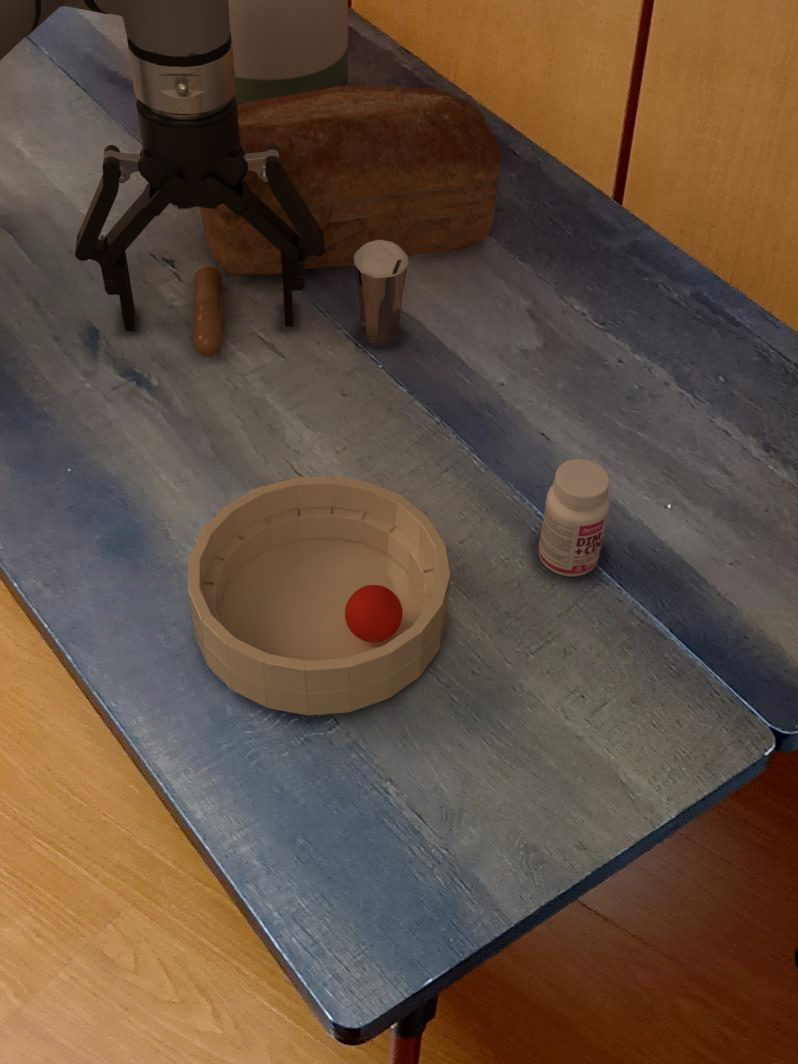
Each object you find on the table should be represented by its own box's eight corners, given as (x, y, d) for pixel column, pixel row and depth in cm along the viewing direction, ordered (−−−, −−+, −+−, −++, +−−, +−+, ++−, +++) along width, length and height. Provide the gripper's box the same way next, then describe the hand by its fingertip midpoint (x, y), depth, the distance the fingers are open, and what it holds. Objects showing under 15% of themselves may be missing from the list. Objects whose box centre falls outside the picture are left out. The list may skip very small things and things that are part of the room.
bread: (188, 221, 126) (173, 81, 116) (466, 188, 135) (475, 56, 124) (213, 296, 119) (199, 154, 108) (506, 256, 127) (519, 121, 117)
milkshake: (374, 362, 115) (375, 266, 107) (345, 327, 118) (344, 232, 110) (419, 347, 117) (423, 252, 109) (390, 313, 120) (392, 219, 112)
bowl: (194, 733, 87) (186, 678, 83) (196, 538, 99) (189, 481, 95) (458, 712, 90) (464, 659, 86) (431, 526, 102) (434, 470, 98)
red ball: (346, 655, 92) (346, 619, 89) (343, 611, 94) (342, 574, 91) (404, 651, 92) (406, 615, 89) (399, 608, 95) (400, 571, 92)
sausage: (223, 361, 113) (221, 339, 111) (194, 362, 112) (191, 340, 111) (222, 281, 120) (220, 259, 119) (195, 281, 120) (193, 259, 118)
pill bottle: (578, 588, 99) (593, 510, 93) (525, 559, 101) (536, 481, 95) (610, 551, 102) (626, 473, 96) (559, 523, 104) (571, 445, 98)
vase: (176, 83, 143) (150, -152, 125) (331, 75, 148) (327, -153, 130) (196, 168, 132) (172, -76, 115) (363, 156, 137) (364, -80, 119)
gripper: (8, 122, 96) (58, 350, 111) (354, 122, 101) (356, 342, 116) (18, 70, 101) (65, 296, 116) (347, 73, 105) (350, 290, 121)
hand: (210, 319), depth 116 cm, fingers open, 13 cm apart
